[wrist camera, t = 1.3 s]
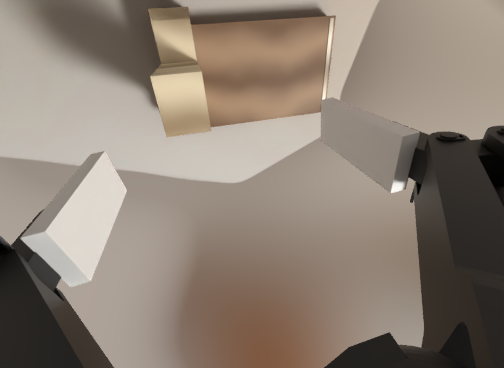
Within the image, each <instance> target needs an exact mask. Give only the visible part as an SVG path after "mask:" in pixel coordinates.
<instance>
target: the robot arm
mask: <svg viewBox="0 0 504 368" xmlns="http://www.w3.org/2000/svg"><path fill="white" fill-rule="evenodd" d="M321 141H322V142H323V143H324V144H326V145H327V146H328V147H330V148H331V149H332V150H334V151H335V152H336V153H338V154H339V155H340V156H342V157H343V158H344V159H346V160H347V161H348V162H350V163H351V164H352V165H354V166H355V167H356V168H358V169H359V170H360V171H362V172H363V173H365V174H366V175H367V176H368V177H370V178H371V179H372V180H374V181H375V182H376V183H378V184H379V185H380V186H382V187H383V188H384V189H386V190H387V191H388V192H390V193H393V192H396V191H400V190H404V189H406V185H407V181H408V178H411V179H413V180H414V181H416V182H415V186H414V189H413V193H412V196H411V200H410V202H411V203H413V200H414V202H415V214H416V227H417V241H418V254H419V267H420V280H421V293H422V306H423V319H424V336H423V341H422V347H421V348H420V347H415V346H407V345H398V344H397V342H396V341H395V339H394V338H393V337H392V336H391V334H390V333H386V334H384V335H381V336H378V337H375V338H373V339H370V340H367V341H365V342H362V343H359V344H357V345H354V346H351V347H349V348H348V349H346V350H345V351H344V352H343V353H342V354H340V355H339V356H338V357H337V358H335V359H334V360H333V361H332V362H331V363H329V364H328V365H327V366H326V367H324V368H504V126H494V127H490V128H488V129H487V131H486V133H485V135H484V138H483V139H480V140H470V139H469V138H468V137H467V136H465V135H462V134H459V133H454V132H436V133H432V134H430V135H428V134H425V133H422V132H420V131H417V130H415V129H412V128H409V127H407V126H404V125H402V124H399V123H397V122H394V121H391V120H388V119H386V118H383V117H381V116H378V115H376V114H373V113H370V112H368V111H365V110H363V109H360V108H358V107H355V106H353V105H350V104H347V103H345V102H342V101H340V100H338V99H335V98H333V97H332V98H328V99H324V100H321ZM126 192H127V190H126V188H125V186H124V184H123V183H122V181H121V179H120V177H119V176H118V174H117V172H116V170H115V168H114V167H113V165H112V163H111V161H110V160H109V158H108V156H107V154H106V152H105V151H103V152H99V153H95V154H91V155H90V156H89V157H88V158H87V159H86V161H85V162H84V163H83V164H82V165H81V167H80V168H79V169H78V170H77V171H76V172H75V174H74V175H73V176H72V177H71V178H70V180H69V181H68V182H67V183H66V184H65V185H64V187H63V188H62V189H61V190H60V191H59V193H58V194H57V195H56V196H55V197H54V199H53V200H52V201H51V202H50V203H49V204H48V206H47V207H46V208H45V209H44V210H42V211H41V212H40V213H39V214H38V215H37V216H36V217H35V218H34V219H33V221H32V222H31V223H30V224H29V225H28V226H27V229H25V230H24V231H23V232H22V233H21V235H20V236H19V237H18V238H17V239H16V241H15V242H14V243H13V244H12V245H10V244H9V243H7V242H6V241H5V240H4V239H3V238H2V237H1V236H0V368H114V367H113V366H112V364H111V363H110V361H109V360H108V358H107V357H106V356H105V354H104V353H103V351H102V350H101V348H100V347H99V345H98V344H97V343H96V341H95V340H94V339H93V337H92V335H91V334H90V333H89V331H88V330H87V328H86V327H85V325H84V324H83V322H82V321H81V319H80V318H79V317H78V315H77V314H76V312H75V311H74V309H73V308H72V306H71V305H70V304H69V302H68V301H67V299H66V298H65V296H64V295H63V294H62V292H61V291H60V290H58V289H57V288H56V286H57V284H58V282H59V280H60V279H62V280H64V282H66V283H67V284H68V285H69V286H70V287H73V286H76V285H80V284H83V283H86V282H90V281H91V279H92V277H93V274H94V272H95V269H96V267H97V264H98V262H99V259H100V257H101V254H102V252H103V249H104V247H105V244H106V242H107V239H108V237H109V234H110V231H111V229H112V227H113V224H114V222H115V219H116V217H117V214H118V211H119V209H120V207H121V204H122V202H123V199H124V197H125V194H126Z"/></svg>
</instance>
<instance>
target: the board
mask: <svg viewBox="0 0 504 368" xmlns="http://www.w3.org/2000/svg"><path fill="white" fill-rule="evenodd" d="M335 17H336V16H321V17H306V18H290V19H275V20H259V21H244V22H228V23H212V24H197V25H191V29H192V35H193V40H194V46H195V52H196V58H197V62H198V64H199V67H200V69H201V71H202V76H203V82H204V89H205V95H206V101H207V107H208V113H209V119H210V126H211V127H216V126H223V125H231V124H238V123H245V122H253V121H260V120H267V119H274V118H282V117H289V116H296V115H304V114H311V113H318V112H321V100H324V99H326V98H327V89H328V80H329V71H330V62H331V53H332V44H333V35H334V26H335Z"/></svg>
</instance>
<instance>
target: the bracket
mask: <svg viewBox="0 0 504 368" xmlns="http://www.w3.org/2000/svg"><path fill="white" fill-rule="evenodd" d="M148 12H149V16H150V20H151V24H152V28H153V32H154V36H155V40H156V45H157V49H158V53H159V57H160V61H161V65H160V66H159V67H158V68H157V69H156V70H155V72H154V73H153V74H152V75H151V76H150V78H151V82H152V86H153V89H154V93H155V96H156V100H157V104H158V107H159V111H160V114H161V118H162V122H163V125H164V129H165V133H166V136H167V137H172V136H179V135H186V134H193V133H200V132H208V131H211V126H210V119H209V113H208V107H207V101H206V95H205V89H204V82H203V76H202V71H201V69H200V67H199V64H198V62H197V58H196V52H195V46H194V40H193V35H192V29H191V23H190V17H189V11H188V7H176V8H156V9H148Z"/></svg>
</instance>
